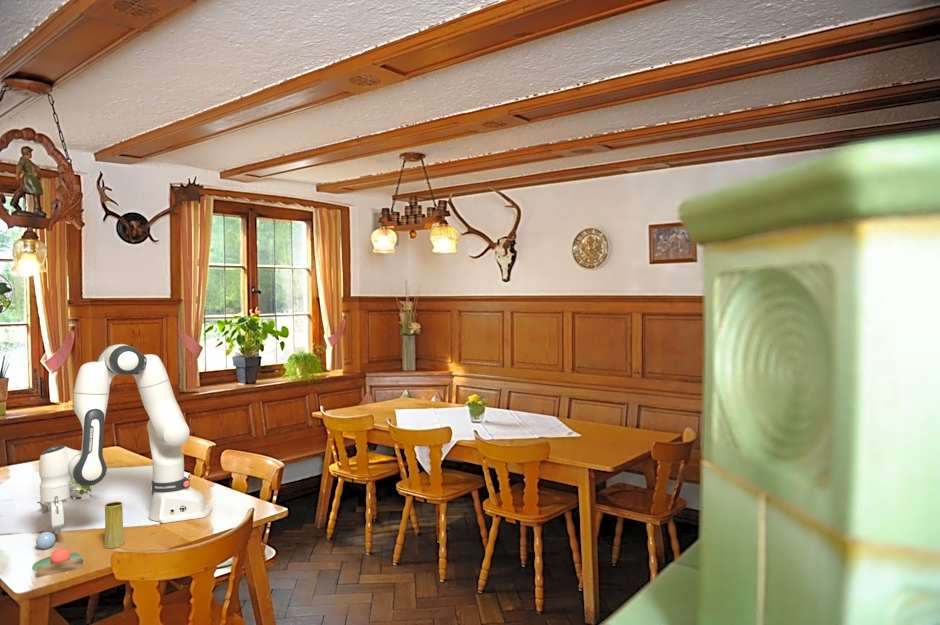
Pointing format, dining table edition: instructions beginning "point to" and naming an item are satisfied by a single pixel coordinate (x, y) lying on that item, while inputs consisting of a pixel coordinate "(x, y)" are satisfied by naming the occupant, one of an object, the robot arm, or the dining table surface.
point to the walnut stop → (59, 567)
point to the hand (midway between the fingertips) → (57, 532)
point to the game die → (44, 506)
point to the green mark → (47, 561)
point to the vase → (113, 525)
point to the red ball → (60, 556)
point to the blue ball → (45, 540)
